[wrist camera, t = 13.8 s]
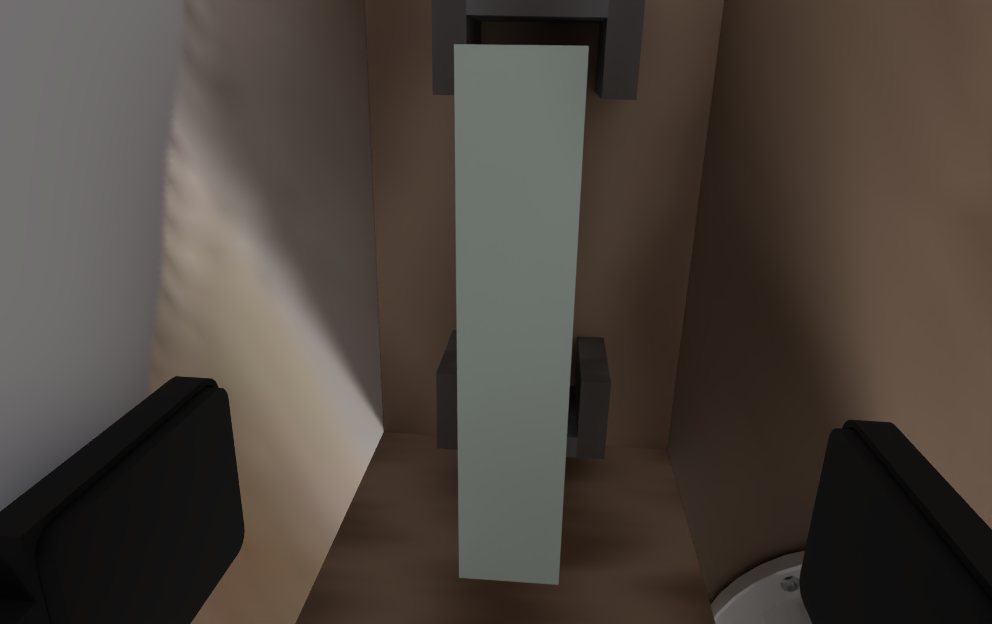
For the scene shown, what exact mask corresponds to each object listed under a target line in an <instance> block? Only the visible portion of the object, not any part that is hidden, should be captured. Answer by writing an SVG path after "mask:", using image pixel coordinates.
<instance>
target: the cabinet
mask: <svg viewBox="0 0 992 624" xmlns="http://www.w3.org/2000/svg"><path fill="white" fill-rule="evenodd" d="M723 6H724V0H365V20H366V42H367V65H368V88H369V110H370V133H371V155H372V178H373V200H374V223H375V245H376V268H377V291H378V313H379V336H380V358H381V381H382V403H383V426H384V433H383V435H382V437H381V439H380V441H379V444H378V446H377V448H376V450H375V452H374V454H373V457H372V459H371V461H370V463H369V465H368V467H367V470H366V472H365V474H364V476H363V478H362V480H361V483H360V485H359V487H358V489H357V491H356V493H355V496H354V498H353V500H352V502H351V504H350V506H349V509H348V511H347V513H346V515H345V517H344V519H343V522H342V524H341V526H340V528H339V530H338V533H337V535H336V537H335V539H334V541H333V543H332V546H331V548H330V550H329V552H328V554H327V556H326V559H325V561H324V563H323V565H322V567H321V569H320V572H319V574H318V576H317V578H316V580H315V582H314V585H313V587H312V589H311V591H310V593H309V595H308V598H307V600H306V602H305V604H304V606H303V608H302V611H301V613H300V615H299V617H298V619H297V621H296V624H716V623H715V620H714V616H713V613H712V609H711V605H710V602H709V598H708V595H707V591H706V587H705V584H704V580H703V577H702V573H701V569H700V566H699V562H698V559H697V555H696V551H695V548H694V544H693V541H692V537H691V534H690V530H689V526H688V523H687V519H686V516H685V512H684V508H683V505H682V501H681V498H680V494H679V490H678V487H677V483H676V480H675V476H674V472H673V469H672V465H671V462H670V458H669V454H668V451H667V447H668V439H669V431H670V424H671V416H672V408H673V400H674V392H675V384H676V376H677V368H678V361H679V353H680V345H681V337H682V329H683V321H684V313H685V305H686V298H687V290H688V282H689V274H690V266H691V258H692V250H693V242H694V235H695V227H696V219H697V211H698V203H699V195H700V187H701V179H702V171H703V164H704V156H705V148H706V140H707V132H708V124H709V116H710V108H711V101H712V93H713V85H714V77H715V69H716V61H717V53H718V45H719V38H720V30H721V22H722V14H723ZM454 44H475V45H561V46H589V52H588V69H587V87H586V105H585V123H584V141H583V159H582V176H581V194H580V212H579V230H578V248H577V265H576V283H575V301H574V319H573V337H572V355H571V372H570V390H569V408H568V426H567V444H566V461H565V479H564V497H563V515H562V533H561V551H560V568H559V585H555V584H541V583H526V582H512V581H498V580H484V579H470V578H459V526H458V420H457V314H456V208H455V101H454Z"/></svg>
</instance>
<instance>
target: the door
mask: <svg viewBox="0 0 992 624" xmlns="http://www.w3.org/2000/svg"><path fill="white" fill-rule="evenodd" d="M588 52H589V46H561V45H475V44H454V101H455V208H456V314H457V420H458V526H459V578H470V579H484V580H498V581H512V582H526V583H541V584H555V585H559V568H560V551H561V533H562V515H563V497H564V479H565V461H566V444H567V426H568V408H569V390H570V372H571V355H572V337H573V319H574V301H575V283H576V265H577V248H578V230H579V212H580V194H581V176H582V159H583V141H584V123H585V105H586V87H587V69H588Z"/></svg>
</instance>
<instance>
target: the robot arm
mask: <svg viewBox="0 0 992 624" xmlns="http://www.w3.org/2000/svg"><path fill="white" fill-rule="evenodd" d="M243 539H244V521H243V512H242V504H241V496H240V488H239V480H238V472H237V464H236V456H235V447H234V439H233V431H232V423H231V415H230V407H229V399H228V394H227V392H226V390H225V389H223V388H218V385H217V383H216V381H214V380H213V379H210V378H194V377H179V376H176V377H174V378H172V379H170V380H169V381H168V382H166V383H165V384H164V385H163V386H161V387H160V388H159V389H157V390H156V391H155V392H154V393H152V394H151V395H150V396H148V397H147V398H146V399H145V400H143V401H142V402H141V403H140V404H138V405H137V406H136V407H134V408H133V409H132V410H131V411H129V412H128V413H127V414H125V415H124V416H123V417H122V418H120V419H119V420H118V421H116V422H115V423H114V424H112V425H111V426H110V427H109V428H107V429H106V430H105V431H103V432H102V433H101V434H100V435H98V436H97V437H96V438H94V439H93V440H92V441H91V442H89V443H88V444H87V445H85V446H84V447H83V448H82V449H80V450H79V451H78V452H76V453H75V454H74V455H73V456H71V457H70V458H69V459H67V460H66V461H65V462H64V463H62V464H61V465H60V466H58V467H57V468H56V469H55V470H53V471H52V472H51V473H49V474H48V475H47V476H46V477H44V478H43V479H42V480H40V481H39V482H38V483H36V484H35V485H34V486H33V487H31V488H30V489H29V490H28V491H26V492H25V493H24V494H22V495H21V496H20V497H18V498H17V499H16V500H15V501H13V502H12V503H11V504H9V505H8V506H7V507H6V508H4V509H3V510H2V511H1V512H0V624H190V623H191V622H192V620H193V619H194V617H195V616H196V615H197V613H198V612H199V610H200V609H201V607H202V606H203V604H204V603H205V601H206V600H207V598H208V597H209V595H210V594H211V593H212V591H213V590H214V588H215V587H216V585H217V584H218V582H219V581H220V579H221V578H222V576H223V575H224V573H225V572H226V571H227V569H228V568H229V566H230V565H231V563H232V562H233V560H234V559H235V557H236V556H237V554H238V553H239V551H240V549H241V546H242V543H243ZM711 609H712V613H713V616H714V620H715V623H716V624H992V530H991V529H990V527H989V526H988V525H987V524H986V523H985V522H984V521H983V520H982V519H981V518H980V517H979V516H978V514H977V513H976V512H975V511H974V510H973V509H972V508H971V507H970V506H969V505H968V504H967V503H966V502H965V500H964V499H963V498H962V497H961V496H960V495H959V494H958V493H957V492H956V491H955V490H954V489H953V487H952V486H951V485H950V484H949V483H948V482H947V481H946V480H945V479H944V478H943V477H942V476H941V475H940V473H939V472H938V471H937V470H936V469H935V468H934V467H933V466H932V465H931V464H930V463H929V462H928V460H927V459H926V458H925V457H924V456H923V455H922V454H921V453H920V452H919V451H918V450H917V449H916V447H915V446H914V445H913V444H912V443H911V442H910V441H909V440H908V439H907V438H906V437H905V436H904V435H903V433H902V432H901V431H900V430H899V429H898V428H897V427H896V426H895V425H894V424H892V423H891V422H876V421H861V420H848V421H847V422H845V424H844V425H843V427H842V429H836V428H835V429H834V430H832V432H831V433H830V436H829V440H828V444H827V449H826V454H825V458H824V463H823V468H822V473H821V477H820V482H819V487H818V491H817V496H816V501H815V506H814V510H813V515H812V520H811V524H810V529H809V534H808V539H807V543H806V548H805V551H801V552H796V553H792V554H788V555H784V556H781V557H779V558H776V559H774V560H771V561H768V562H766V563H763V564H761V565H759V566H757V567H755V568H754V569H752V570H750V571H749V572H747V573H745V574H743V575H742V576H740V577H738V578H737V579H736V580H735V581H734V582H732V583H731V584H730V585H729V586H728V587H726V588H725V589H724V590H723V591H722V592H721V593H720V594H719V595H718V596H717V597H716V599H715V600H714V601H713V602H712V604H711Z"/></svg>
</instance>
